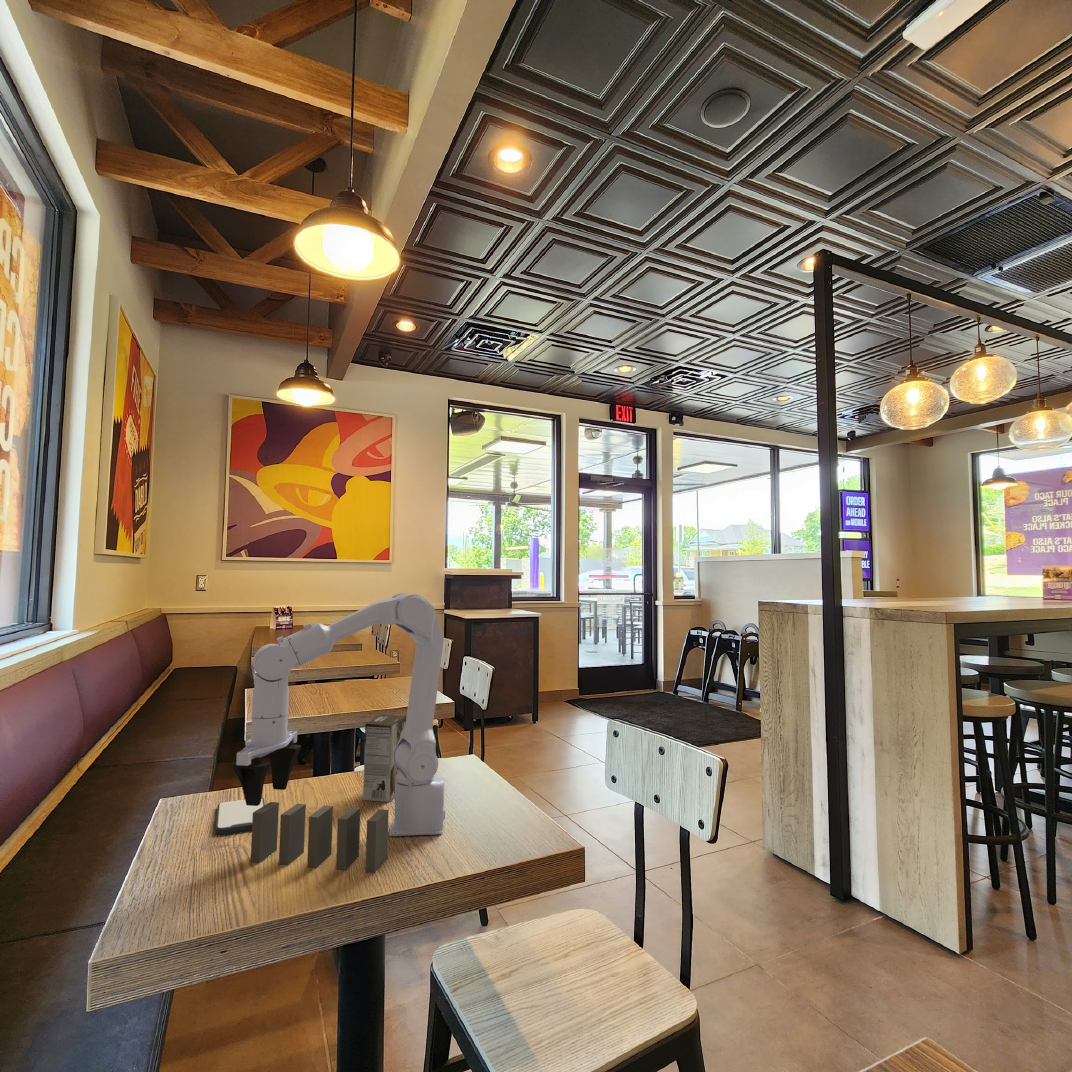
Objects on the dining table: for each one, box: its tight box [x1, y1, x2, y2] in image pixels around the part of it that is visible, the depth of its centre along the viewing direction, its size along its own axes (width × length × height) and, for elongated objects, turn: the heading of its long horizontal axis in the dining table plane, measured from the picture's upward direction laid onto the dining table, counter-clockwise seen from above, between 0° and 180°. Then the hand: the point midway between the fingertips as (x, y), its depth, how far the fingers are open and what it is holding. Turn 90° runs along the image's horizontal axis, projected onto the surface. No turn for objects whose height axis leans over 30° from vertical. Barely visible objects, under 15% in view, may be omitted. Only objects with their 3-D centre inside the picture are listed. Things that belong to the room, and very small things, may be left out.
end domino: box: [250, 801, 280, 864], centre depth 101 cm, size 2×5×8 cm, turn 171°
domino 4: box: [364, 808, 389, 874], centre depth 98 cm, size 2×5×8 cm, turn 171°
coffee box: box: [362, 714, 407, 803], centre depth 131 cm, size 9×6×16 cm
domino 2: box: [306, 805, 334, 869], centre depth 99 cm, size 2×5×8 cm, turn 171°
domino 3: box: [335, 806, 361, 872], centre depth 99 cm, size 2×5×8 cm, turn 171°
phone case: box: [214, 797, 266, 837], centre depth 117 cm, size 9×2×16 cm
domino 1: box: [278, 803, 307, 867], centre depth 100 cm, size 2×5×8 cm, turn 171°
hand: (266, 796), depth 101 cm, fingers open, 7 cm apart
